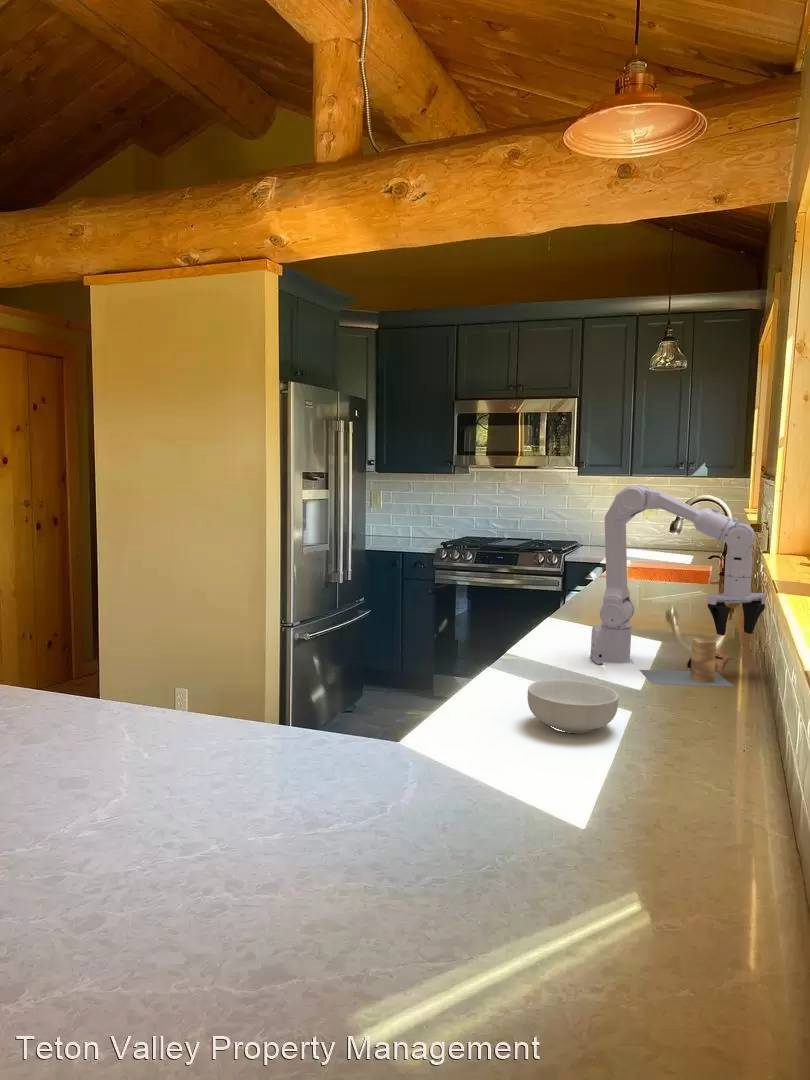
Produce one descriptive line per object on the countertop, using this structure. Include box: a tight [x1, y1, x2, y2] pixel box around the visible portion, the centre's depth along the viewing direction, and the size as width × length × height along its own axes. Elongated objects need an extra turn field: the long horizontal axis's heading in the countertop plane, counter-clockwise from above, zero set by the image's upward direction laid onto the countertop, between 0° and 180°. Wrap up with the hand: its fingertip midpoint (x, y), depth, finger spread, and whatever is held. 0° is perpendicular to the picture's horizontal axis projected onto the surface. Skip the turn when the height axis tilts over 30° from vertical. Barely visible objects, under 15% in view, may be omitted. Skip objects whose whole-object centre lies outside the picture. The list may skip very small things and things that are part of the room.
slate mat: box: [639, 669, 734, 687], centre depth 184 cm, size 18×12×1 cm, turn 87°
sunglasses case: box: [686, 649, 733, 672], centre depth 199 cm, size 18×7×7 cm, turn 152°
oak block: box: [690, 638, 717, 682], centre depth 182 cm, size 4×4×9 cm
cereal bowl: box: [526, 679, 620, 735], centre depth 150 cm, size 17×17×7 cm
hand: (734, 633), depth 186 cm, fingers open, 7 cm apart
